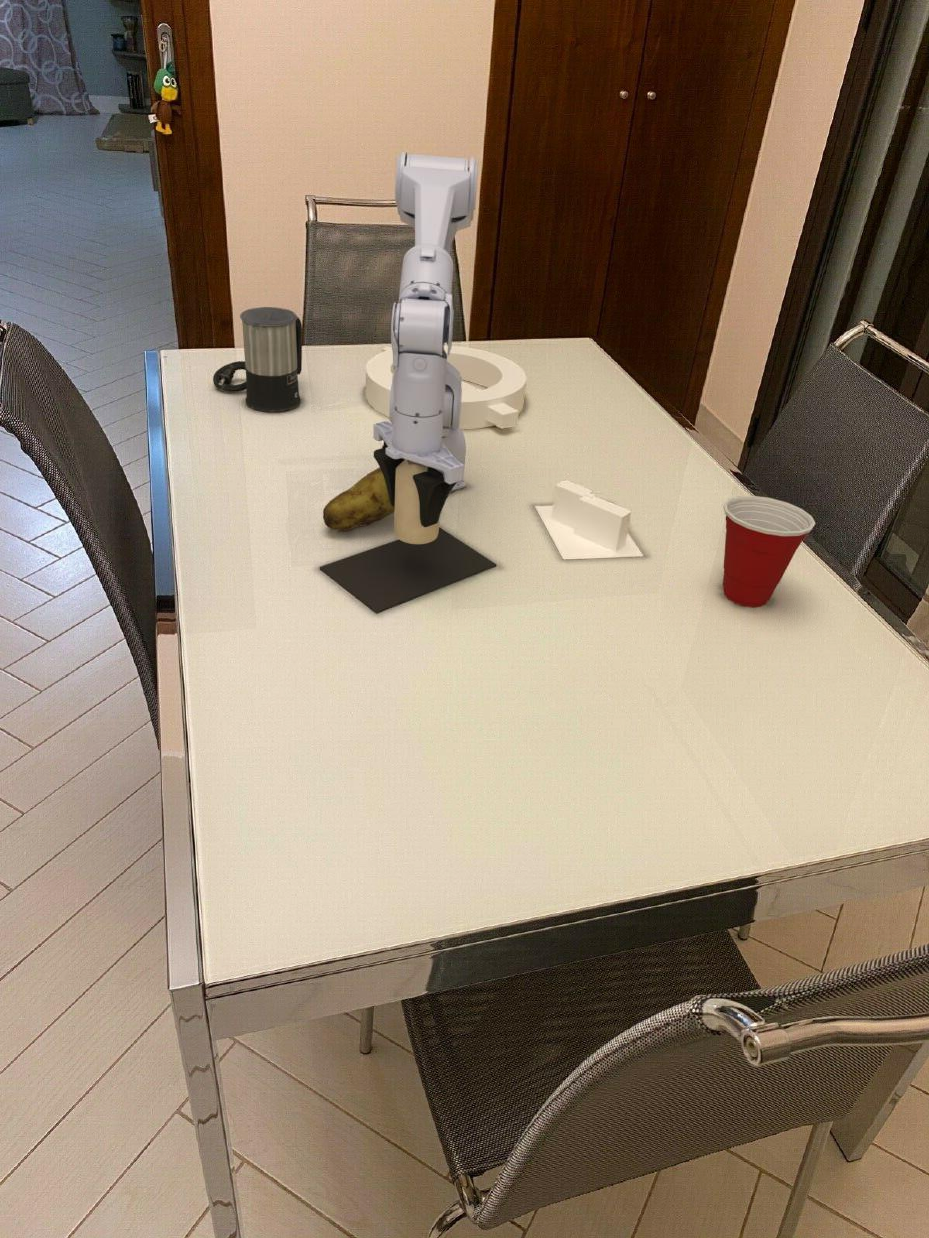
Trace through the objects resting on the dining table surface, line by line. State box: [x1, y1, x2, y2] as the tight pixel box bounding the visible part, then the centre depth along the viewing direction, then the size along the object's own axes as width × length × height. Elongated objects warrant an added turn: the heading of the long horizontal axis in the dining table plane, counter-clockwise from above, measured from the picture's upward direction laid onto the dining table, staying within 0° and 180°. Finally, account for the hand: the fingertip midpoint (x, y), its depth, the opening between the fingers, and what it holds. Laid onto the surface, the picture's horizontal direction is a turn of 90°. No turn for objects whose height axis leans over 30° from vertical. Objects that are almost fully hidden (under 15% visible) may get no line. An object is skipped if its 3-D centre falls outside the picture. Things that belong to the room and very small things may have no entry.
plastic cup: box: [722, 495, 817, 608], centre depth 116 cm, size 11×11×12 cm
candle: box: [393, 459, 441, 544], centre depth 113 cm, size 6×6×10 cm
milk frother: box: [212, 306, 303, 413], centre depth 157 cm, size 14×16×15 cm
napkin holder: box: [534, 479, 644, 560], centre depth 129 cm, size 15×11×6 cm
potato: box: [322, 467, 395, 532], centre depth 125 cm, size 8×13×8 cm, turn 102°
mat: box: [319, 526, 498, 614], centre depth 119 cm, size 19×12×1 cm, turn 130°
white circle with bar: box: [365, 344, 527, 430], centre depth 166 cm, size 28×28×5 cm
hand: (413, 513), depth 114 cm, fingers closed on candle, 5 cm apart
